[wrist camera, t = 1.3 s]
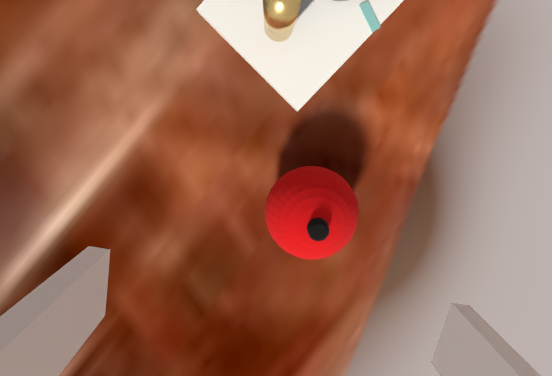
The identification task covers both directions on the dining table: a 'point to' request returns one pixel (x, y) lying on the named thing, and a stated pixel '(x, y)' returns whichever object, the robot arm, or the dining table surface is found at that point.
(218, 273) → the dining table surface
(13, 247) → the dining table surface
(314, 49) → the stand
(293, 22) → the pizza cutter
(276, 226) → the ornament
